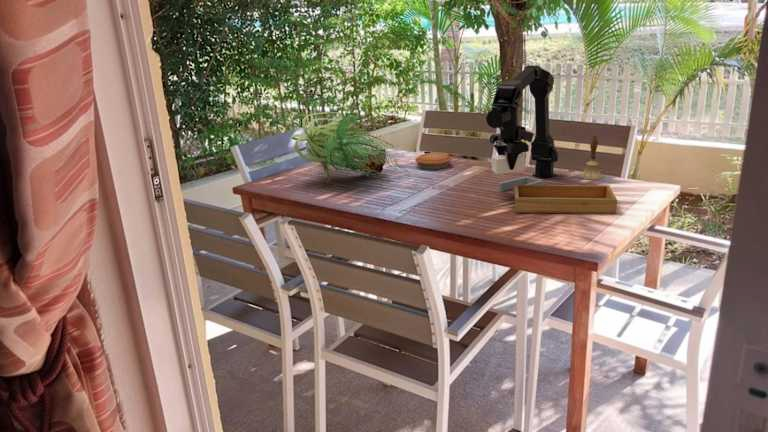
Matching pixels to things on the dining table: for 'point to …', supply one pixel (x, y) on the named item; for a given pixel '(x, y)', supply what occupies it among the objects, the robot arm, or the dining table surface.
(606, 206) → the tray
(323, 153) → the plant
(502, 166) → the block
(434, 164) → the pie
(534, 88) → the robot arm
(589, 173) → the hand bell
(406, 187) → the dining table surface
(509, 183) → the holder
